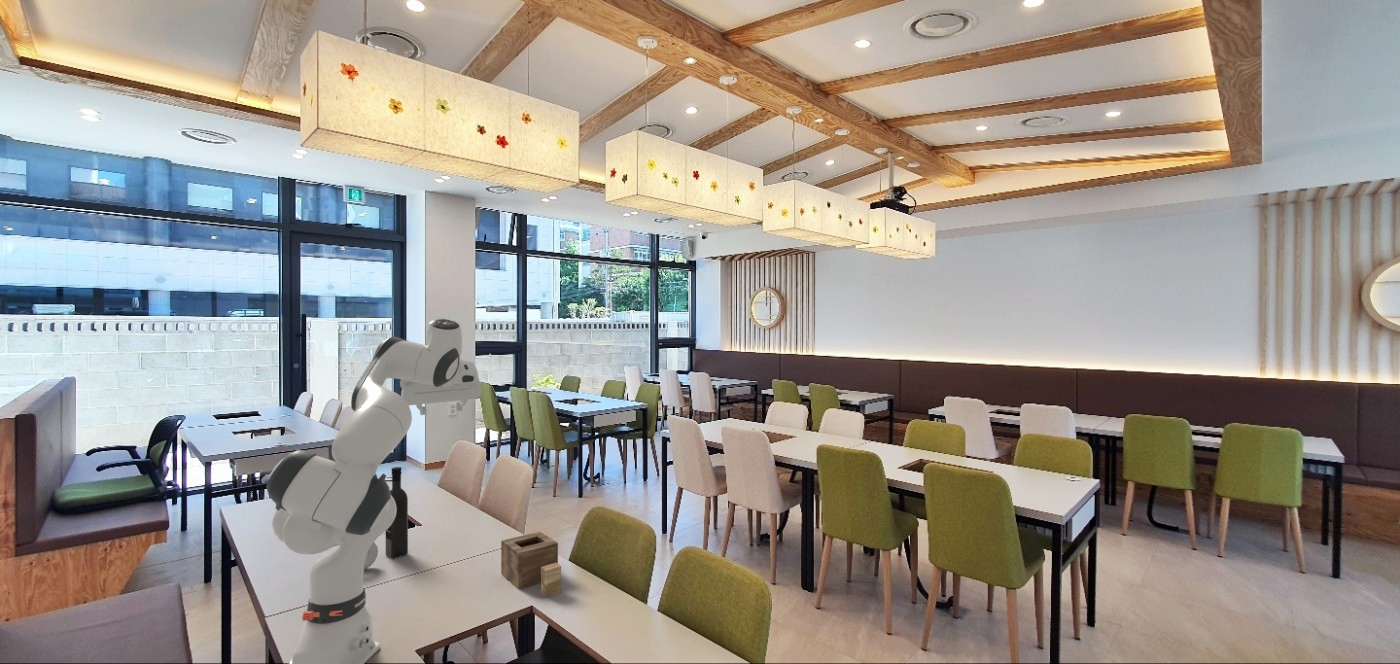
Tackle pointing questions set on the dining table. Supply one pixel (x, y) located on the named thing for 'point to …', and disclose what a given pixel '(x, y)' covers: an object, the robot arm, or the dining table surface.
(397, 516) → the wine bottle
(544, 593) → the domino block
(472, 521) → the dining table surface
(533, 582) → the slot box
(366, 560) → the donut
